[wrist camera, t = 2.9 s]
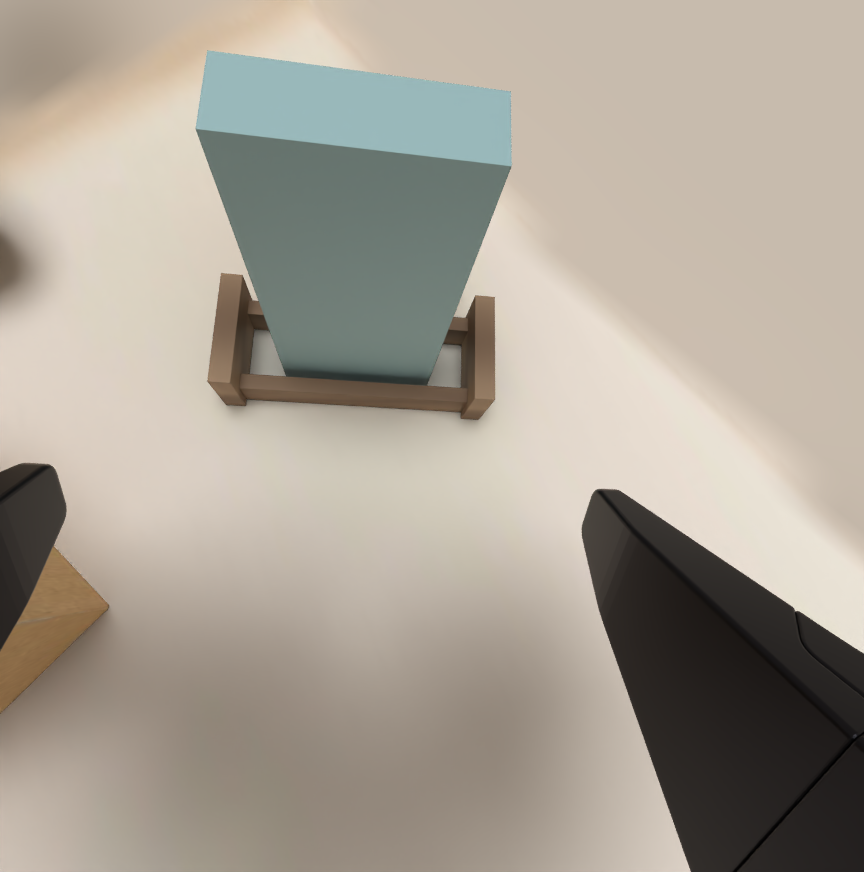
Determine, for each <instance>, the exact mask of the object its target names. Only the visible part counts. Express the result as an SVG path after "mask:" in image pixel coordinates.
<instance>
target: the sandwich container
mask: <svg viewBox="0 0 864 872" xmlns="http://www.w3.org/2000/svg"><path fill="white" fill-rule="evenodd" d="M108 607H109V605H108V604H107V603H106V602H105V601H104V600H103V598H102V597H101V596H100V595H99V594H98V593H97V592H96V591H95V590H94V589H93V588H92V587H91V586H90V585H89V583H88V582H87V581H86V580H85V579H84V578H83V577H82V576H81V575H80V574H79V573H78V572H77V571H76V570H75V568H74V567H73V566H72V565H71V564H70V563H69V562H68V561H67V560H66V559H65V558H64V557H63V556H62V555H61V553H60V552H59V551H58V550H57V549H56V548H55V547H54V546H53V548H52V550H51V553H50V555H49V557H48V560H47V562H46V564H45V566H44V569H43V571H42V573H41V576H40V578H39V580H38V582H37V585H36V587H35V589H34V591H33V593H32V596H31V598H30V600H29V602H28V604H27V606H26V607H25V609H24V611H23V613H22V615H21V616H20V618H19V620H18V622H17V623H16V625H15V627H14V629H13V630H12V632H11V634H10V635H9V637H8V639H7V641H6V642H5V644H4V646H3V648H2V649H1V651H0V713H1V712H2V711H3V710H4V709H5V708H6V707H8V706H9V705H10V704H11V703H12V702H13V701H14V700H15V699H16V698H17V697H18V696H19V695H20V694H21V693H22V692H23V691H24V690H25V689H26V688H27V687H28V686H29V685H30V684H31V683H32V682H33V681H34V680H35V679H36V678H37V677H38V676H39V675H40V674H41V673H42V672H43V671H44V670H45V669H46V668H48V667H49V666H50V665H51V664H52V663H53V662H54V661H55V660H56V659H57V658H58V657H59V656H60V655H61V654H62V653H63V652H64V651H65V650H66V649H67V648H68V647H69V646H70V645H71V644H72V643H73V642H74V641H75V640H76V639H77V638H78V637H79V636H80V635H81V634H82V633H83V632H84V631H85V630H86V629H88V628H89V627H90V626H91V625H92V624H93V623H94V622H95V621H96V620H97V619H98V618H99V617H100V616H101V615H102V614H103V613H104V612H105V611H106V610H107V609H108Z"/></svg>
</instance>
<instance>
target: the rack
mask: <svg viewBox="0 0 864 872" xmlns="http://www.w3.org/2000/svg"><path fill="white" fill-rule="evenodd" d="M254 329H261V330H269V328H268V325H267V322H266V320H265V317H264V314H263V311H262V309H261V306H260V303H259V301H252V298H251V296H250V293H249V290H248V288H247V285H246V283H245V280H244V278H243V275H236V274H225V273H221V278H220V286H219V294H218V301H217V309H216V317H215V325H214V333H213V341H212V349H211V357H210V365H209V372H208V380H207V382H208V383H209V384H210V385H211V386H212V388H213V389H214V390H215V391H216V393H217V394H218V395H219V396H220V398H221V399H222V400H223V401H224V403H225V404H226V405H239V406H246V399H253V400H270V401H286V402H303V403H320V404H336V405H353V406H369V407H386V408H402V409H419V410H435V411H452V412H461V419H477V420H479V418H480V417H481V416H482V415H483V414H484V412H485V411H486V410H487V409H488V408H489V406H490V405H491V404H492V403H493V401H494V400H495V297H488V296H476V295H475V298H474V300H473V302H472V304H471V307H470V309H469V311H468V314H467V316H466V318H458V317H453V319H452V321H451V324H450V327H449V329H448V332H447V334H446V337H445V339H444V342H443V343H445V344H458V345H462V354H461V388H452V387H437V386H422V385H407V384H391V383H376V382H361V381H346V380H331V379H315V378H300V377H285V376H270V375H255V374H249V372H250V362H251V353H252V344H253V335H254Z"/></svg>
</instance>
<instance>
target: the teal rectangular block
mask: <svg viewBox="0 0 864 872" xmlns="http://www.w3.org/2000/svg"><path fill="white" fill-rule="evenodd" d="M196 131H197V134H198V137H199V139H200V142H201V145H202V148H203V150H204V153H205V156H206V159H207V161H208V164H209V167H210V169H211V172H212V175H213V178H214V180H215V183H216V186H217V189H218V191H219V194H220V197H221V199H222V202H223V205H224V208H225V210H226V213H227V216H228V219H229V221H230V224H231V227H232V230H233V232H234V235H235V238H236V240H237V243H238V246H239V249H240V251H241V254H242V257H243V260H244V262H245V265H246V268H247V270H248V273H249V276H250V279H251V281H252V284H253V287H254V290H255V292H256V295H257V298H258V301H259V303H260V306H261V309H262V311H263V314H264V317H265V320H266V322H267V325H268V328H269V331H270V333H271V336H272V339H273V341H274V344H275V347H276V350H277V352H278V355H279V358H280V361H281V363H282V366H283V369H284V372H285V374H286V377H300V378H315V379H331V380H346V381H361V382H376V383H391V384H407V385H422V386H427V383H428V381H429V378H430V376H431V373H432V370H433V368H434V365H435V363H436V360H437V358H438V355H439V352H440V350H441V347H442V345H443V342H444V339H445V337H446V334H447V332H448V329H449V327H450V324H451V321H452V319H453V316H454V314H455V311H456V308H457V306H458V303H459V301H460V298H461V296H462V293H463V290H464V288H465V285H466V283H467V280H468V277H469V275H470V272H471V270H472V267H473V265H474V262H475V259H476V257H477V254H478V252H479V249H480V246H481V244H482V241H483V239H484V236H485V234H486V231H487V228H488V226H489V223H490V221H491V218H492V215H493V213H494V210H495V208H496V205H497V203H498V200H499V197H500V195H501V192H502V190H503V187H504V184H505V182H506V179H507V177H508V174H509V172H510V169H511V166H512V162H511V92H510V91H503V90H496V89H488V88H480V87H473V86H466V85H459V84H451V83H444V82H437V81H429V80H422V79H414V78H407V77H400V76H392V75H385V74H378V73H370V72H363V71H356V70H348V69H341V68H333V67H326V66H319V65H311V64H304V63H297V62H289V61H282V60H274V59H267V58H260V57H252V56H245V55H238V54H230V53H223V52H215V51H208V50H207V56H206V63H205V69H204V76H203V83H202V90H201V96H200V103H199V110H198V116H197V123H196Z"/></svg>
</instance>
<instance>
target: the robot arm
mask: <svg viewBox="0 0 864 872" xmlns="http://www.w3.org/2000/svg"><path fill="white" fill-rule="evenodd" d="M65 517H66V502H65V499H64V496H63V492H62V489H61V485H60V482H59V479H58V475H57V472H56V470H55V469H54V467H53V466H51V465H49V464H38V463H21V464H18V465H16V466H13V467H11V468H9V469H6V470H4V471H2V472H0V651H1V649H2V648H3V646H4V644H5V642H6V641H7V639H8V637H9V635H10V634H11V632H12V630H13V629H14V627H15V625H16V623H17V622H18V620H19V618H20V616H21V615H22V613H23V611H24V609H25V607H26V606H27V604H28V602H29V600H30V598H31V596H32V593H33V591H34V589H35V587H36V585H37V582H38V580H39V578H40V576H41V573H42V571H43V569H44V566H45V564H46V562H47V560H48V557H49V555H50V553H51V550H52V548H53V546H54V543H55V541H56V539H57V537H58V534H59V532H60V530H61V527H62V525H63V523H64V520H65ZM582 539H583V543H584V548H585V552H586V556H587V561H588V565H589V569H590V574H591V578H592V583H593V587H594V591H595V596H596V600H597V604H598V608H599V611H600V615H601V618H602V621H603V624H604V627H605V630H606V632H607V635H608V638H609V641H610V644H611V647H612V649H613V652H614V655H615V658H616V661H617V664H618V666H619V669H620V672H621V675H622V678H623V681H624V683H625V686H626V689H627V692H628V695H629V698H630V700H631V703H632V706H633V709H634V712H635V715H636V717H637V720H638V723H639V726H640V729H641V732H642V734H643V737H644V740H645V743H646V746H647V749H648V751H649V754H650V757H651V760H652V763H653V766H654V768H655V771H656V774H657V777H658V780H659V783H660V786H661V788H662V791H663V794H664V797H665V800H666V803H667V805H668V808H669V811H670V814H671V817H672V820H673V822H674V825H675V828H676V831H677V834H678V837H679V839H680V842H681V845H682V848H683V851H684V854H685V856H686V859H687V862H688V865H689V868H690V871H691V872H864V654H863V653H862V652H860V651H859V650H857V649H855V648H854V647H852V646H851V645H849V644H848V643H846V642H845V641H843V640H842V639H840V638H839V637H837V636H835V635H834V634H832V633H831V632H829V631H828V630H826V629H825V628H823V627H822V626H820V625H819V624H817V623H816V622H814V621H813V620H811V619H810V618H808V617H807V616H805V615H804V614H803V613H801V612H799V611H796V612H795V610H794V608H793V607H792V606H790V605H789V604H787V603H786V602H784V601H783V600H782V599H780V598H779V597H777V596H776V595H774V594H773V593H771V592H770V591H768V590H767V589H765V588H764V587H762V586H761V585H759V584H758V583H756V582H755V581H753V580H752V579H750V578H749V577H747V576H746V575H744V574H743V573H741V572H740V571H738V570H737V569H735V568H734V567H732V566H731V565H729V564H728V563H727V562H725V561H724V560H722V559H721V558H719V557H718V556H716V555H715V554H713V553H712V552H710V551H709V550H707V549H706V548H704V547H703V546H701V545H700V544H698V543H697V542H695V541H694V540H692V539H691V538H689V537H688V536H686V535H685V534H683V533H682V532H680V531H679V530H677V529H676V528H674V527H673V526H672V525H670V524H669V523H667V522H666V521H664V520H663V519H661V518H660V517H658V516H657V515H655V514H654V513H652V512H651V511H649V510H648V509H646V508H645V507H643V506H642V505H640V504H639V503H637V502H636V501H634V500H633V499H631V498H630V497H628V496H627V495H625V494H624V493H622V492H621V491H619V490H615V489H597V490H595V491H594V493H593V494H592V496H591V499H590V502H589V505H588V508H587V512H586V515H585V518H584V521H583V524H582Z"/></svg>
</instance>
